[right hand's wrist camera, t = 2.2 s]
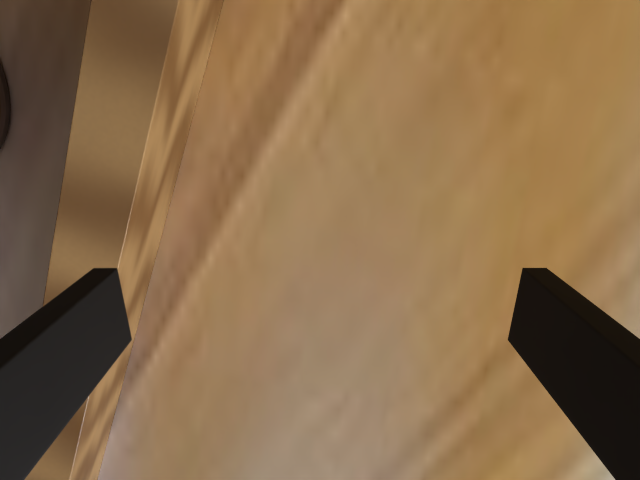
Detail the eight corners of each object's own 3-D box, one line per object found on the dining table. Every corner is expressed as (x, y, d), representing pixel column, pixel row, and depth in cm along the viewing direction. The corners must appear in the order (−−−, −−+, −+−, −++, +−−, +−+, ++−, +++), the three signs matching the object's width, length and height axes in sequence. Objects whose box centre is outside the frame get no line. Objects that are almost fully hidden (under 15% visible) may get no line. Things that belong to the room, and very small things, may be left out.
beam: (281, -591, 19) (254, -1043, 11) (365, -537, 19) (392, -933, 12) (55, 483, 45) (2, 559, 37) (93, 493, 45) (49, 570, 38)
